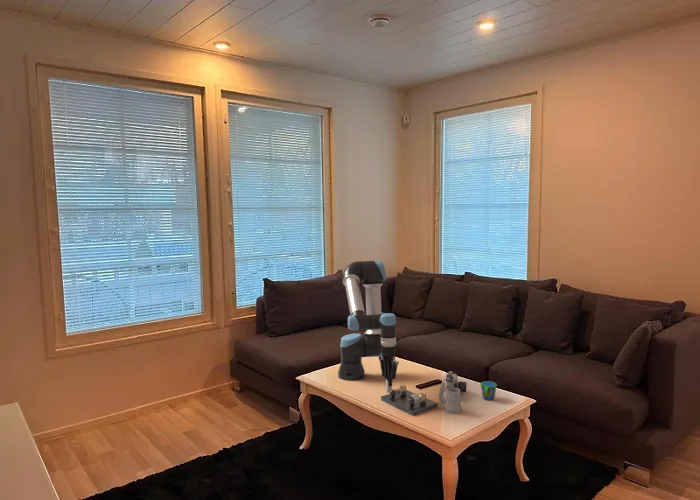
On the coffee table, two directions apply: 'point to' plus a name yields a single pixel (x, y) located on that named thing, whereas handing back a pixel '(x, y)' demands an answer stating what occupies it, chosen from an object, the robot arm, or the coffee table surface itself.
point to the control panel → (403, 403)
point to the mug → (450, 399)
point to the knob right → (417, 400)
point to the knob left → (398, 391)
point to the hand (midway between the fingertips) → (388, 391)
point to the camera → (455, 382)
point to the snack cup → (488, 390)
